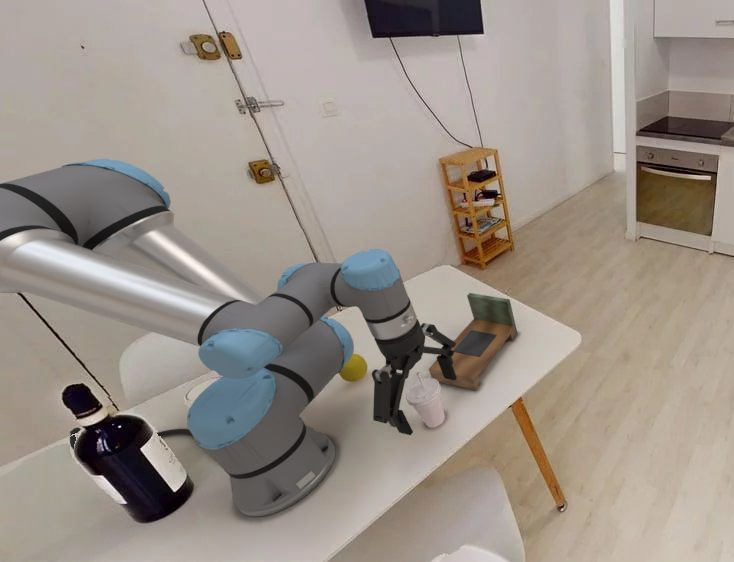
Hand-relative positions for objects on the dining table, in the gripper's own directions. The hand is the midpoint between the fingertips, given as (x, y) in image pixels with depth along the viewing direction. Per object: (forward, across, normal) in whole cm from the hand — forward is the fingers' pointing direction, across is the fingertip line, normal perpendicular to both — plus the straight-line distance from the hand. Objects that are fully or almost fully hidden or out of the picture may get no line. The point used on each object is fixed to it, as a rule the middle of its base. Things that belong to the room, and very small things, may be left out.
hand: (430, 403), depth 86 cm
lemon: (+5, +5, +26) cm, 27 cm away
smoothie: (+6, 0, 0) cm, 6 cm away
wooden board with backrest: (+6, +18, +2) cm, 19 cm away
